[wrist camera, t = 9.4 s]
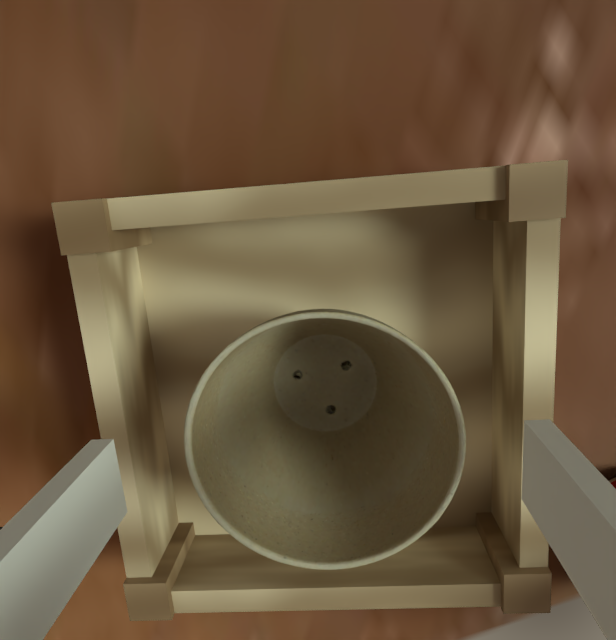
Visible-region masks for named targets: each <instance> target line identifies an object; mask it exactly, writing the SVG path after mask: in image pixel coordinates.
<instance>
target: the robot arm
mask: <svg viewBox="0 0 616 640" xmlns="http://www.w3.org/2000/svg"><path fill="white" fill-rule="evenodd" d="M522 500H523V502H524V504H525V505H526V507H527V509H528V510H529V512H530V514H531V515H532V517H533V519H534V520H535V522H536V524H537V525H538V527H539V528H540V530H541V532H542V533H543V535H544V537H545V538H546V540H547V542H548V543H549V545H550V547H551V548H552V550H553V552H554V553H555V555H556V556H557V558H558V560H559V561H560V563H561V565H562V566H563V568H564V570H565V571H566V573H567V575H568V576H569V578H570V580H571V581H572V583H573V584H574V586H575V588H576V589H577V591H578V593H579V594H580V596H581V598H582V599H583V601H584V602H585V604H586V606H587V608H588V609H589V611H590V612H591V614H592V616H593V617H594V619H595V621H596V622H597V624H598V626H599V627H600V629H601V631H602V632H603V634H604V635H605V637H606V639H607V640H616V489H615V488H614V487H613V485H612V484H611V483H610V482H609V481H608V480H607V479H606V478H605V477H604V476H603V475H602V474H601V473H600V472H599V471H598V470H597V469H596V468H595V467H594V465H593V464H592V463H591V462H590V461H589V460H588V459H587V458H586V457H585V456H584V455H583V454H582V453H581V452H580V451H579V450H578V449H577V448H576V446H575V445H574V444H573V443H572V442H571V441H570V440H569V439H568V438H567V437H566V436H565V435H564V434H563V433H562V432H561V431H560V430H559V429H558V428H557V426H556V425H555V424H554V423H553V422H552V421H551V420H550V419H545V420H524V438H523V469H522ZM126 513H127V507H126V501H125V496H124V491H123V486H122V481H121V475H120V470H119V465H118V460H117V455H116V449H115V444H114V439H98V440H90V441H89V442H88V443H87V444H86V445H85V446H84V447H83V448H82V449H81V450H80V451H79V452H78V453H77V454H76V455H75V456H74V457H73V458H72V459H71V460H70V461H69V462H68V463H67V464H66V465H65V466H64V467H63V468H62V469H61V470H60V471H59V472H58V473H57V474H56V475H55V476H54V477H53V478H52V479H51V480H50V481H49V482H48V483H47V484H46V485H45V486H44V487H43V488H42V489H41V490H40V491H39V492H38V493H37V494H36V495H35V496H34V497H33V498H32V499H31V500H30V501H29V502H28V503H27V504H26V505H25V506H24V507H23V508H22V509H21V510H20V511H19V512H18V513H17V514H16V515H15V516H14V517H13V518H12V519H11V520H10V521H9V522H8V523H7V524H6V525H5V526H4V527H0V640H43V639H44V637H45V636H46V634H47V633H48V631H49V630H50V628H51V627H52V625H53V623H54V622H55V620H56V619H57V617H58V616H59V614H60V613H61V611H62V610H63V608H64V607H65V605H66V604H67V602H68V601H69V599H70V598H71V596H72V595H73V593H74V592H75V590H76V589H77V587H78V586H79V584H80V583H81V581H82V580H83V578H84V577H85V575H86V574H87V572H88V571H89V569H90V568H91V566H92V565H93V563H94V562H95V560H96V559H97V557H98V556H99V554H100V553H101V551H102V550H103V548H104V547H105V545H106V544H107V542H108V541H109V539H110V538H111V536H112V535H113V533H114V532H115V530H116V529H117V527H118V526H119V524H120V522H121V521H122V519H123V518H124V516H125V515H126Z"/></svg>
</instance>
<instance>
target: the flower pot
mask: <svg viewBox="0 0 616 640" xmlns="http://www.w3.org/2000/svg"><path fill="white" fill-rule="evenodd" d="M345 361H347V363H346V364H345V365H342V363H343V362H345ZM295 375H298V376H299V377H300V379H298V378H295V377H294V376H295ZM331 406H334V407H335V411H333V410H332V409H331ZM184 450H185V458H186V464H187V467H188V471H189V474H190V478H191V480H192V483H193V485H194V487H195V490H196V492H197V494H198V496H199V498H200V499H201V501H202V503H203V504H204V506H205V507H206V509H207V510H208V511H209V513H210V514H211V516H212V517H213V518H214V519H215V520H216V521H217V523H218V524H219V525H220V526H221V527H222V528H223V529H224V530H225V531H227V532H228V533H229V534H230V535H231V536H232V537H234V538H235V539H236V540H237V541H239V542H240V543H242V544H243V545H244V546H246V547H248V548H249V549H251V550H253V551H255V552H257V553H258V554H261V555H263V556H265V557H267V558H269V559H272V560H274V561H277V562H280V563H284V564H288V565H292V566H296V567H302V568H307V569H318V570H339V569H346V568H354V567H358V566H362V565H367V564H370V563H373V562H376V561H379V560H382V559H384V558H387V557H389V556H391V555H393V554H395V553H397V552H399V551H400V550H402V549H404V548H406V547H407V546H409V545H410V544H412V543H413V542H415V541H416V540H417V539H419V538H420V537H421V536H422V535H423V534H425V533H426V532H427V531H428V530H429V529H430V528H431V527H432V526H433V525H434V524H435V523H436V522H437V521H438V519H439V518H440V517H441V515H442V514H443V513H444V511H445V509H446V508H447V506H448V505H449V503H450V501H451V500H452V498H453V496H454V494H455V491H456V489H457V487H458V484H459V481H460V478H461V475H462V471H463V467H464V461H465V451H466V432H465V424H464V419H463V415H462V411H461V407H460V404H459V402H458V399H457V396H456V394H455V392H454V390H453V388H452V386H451V384H450V382H449V381H448V379H447V377H446V376H445V374H444V373H443V371H442V370H441V369H440V367H439V366H438V365H437V364H436V362H435V361H434V360H433V359H432V358H431V357H430V356H429V355H428V354H427V353H426V352H425V351H424V350H423V349H422V348H421V347H420V346H418V345H417V344H416V343H415V342H414V341H412V340H411V339H410V338H408V337H407V336H405V335H404V334H402V333H401V332H399V331H397V330H396V329H394V328H393V327H391V326H389V325H387V324H385V323H383V322H381V321H378V320H376V319H374V318H371V317H369V316H366V315H362V314H359V313H355V312H350V311H345V310H338V309H309V310H302V311H296V312H292V313H288V314H284V315H281V316H278V317H275V318H272V319H270V320H268V321H266V322H264V323H262V324H259V325H257V326H255V327H254V328H252V329H250V330H249V331H247V332H246V333H244V334H242V335H241V336H240V337H238V338H237V339H235V340H234V341H233V342H232V343H230V344H229V345H228V346H227V347H226V348H225V349H224V350H223V351H222V352H221V353H220V354H219V355H218V356H217V357H216V358H215V359H214V360H213V361H212V362H211V364H210V365H209V366H208V367H207V369H206V370H205V372H204V373H203V375H202V377H201V378H200V380H199V382H198V384H197V385H196V387H195V390H194V392H193V395H192V397H191V400H190V403H189V406H188V410H187V414H186V418H185V425H184Z"/></svg>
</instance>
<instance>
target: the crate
mask: <svg viewBox="0 0 616 640" xmlns="http://www.w3.org/2000/svg"><path fill="white" fill-rule="evenodd" d="M567 169H568V160H560V161H548V162H536V163H524V164H512V165H506V166H495V167H483V168H471V169H459V170H447V171H435V172H423V173H411V174H399V175H387V176H375V177H363V178H351V179H339V180H327V181H315V182H303V183H291V184H279V185H267V186H255V187H243V188H231V189H219V190H206V191H194V192H182V193H170V194H158V195H146V196H134V197H122V198H110V199H91V200H79V201H67V202H55V203H51V204H52V209H53V214H54V220H55V225H56V230H57V236H58V241H59V246H60V252H61V255H67V259H68V264H69V269H70V275H71V280H72V286H73V291H74V296H75V302H76V307H77V312H78V318H79V323H80V329H81V334H82V339H83V345H84V350H85V356H86V361H87V366H88V372H89V377H90V382H91V388H92V393H93V399H94V404H95V409H96V415H97V420H98V426H99V431H100V436H101V439H114V444H115V449H116V455H117V460H118V465H119V470H120V475H121V481H122V486H123V491H124V496H125V501H126V507H127V513H126V515H125V516H124V518H123V519H122V521H121V522H120V524H119V526H118V527H117V528H118V533H119V539H120V544H121V549H122V555H123V560H124V566H125V571H126V576H127V578H126V580H125V582H124V584H123V586H124V592H125V597H126V602H127V608H128V613H129V618H130V621H147V620H172V618H173V616H174V613H201V612H251V611H300V610H350V609H399V608H449V607H498V606H501V609H502V611H503V614H513V613H550V607H551V581H552V573H551V571H550V570H549V568H548V550H549V543H548V542H547V540H546V538H545V537H544V535H543V533H542V532H541V530H540V528H539V527H538V525H537V524H536V522H535V520H534V519H533V517H532V515H531V514H530V512H529V510H528V509H527V507H526V505H525V504H524V502H523V500H522V469H523V438H524V420H545V419H550V420H551V421H552V422H553V413H554V386H555V358H556V331H557V304H558V276H559V249H560V222H561V218H566V195H567ZM309 309H338V310H345V311H350V312H355V313H359V314H362V315H366V316H369V317H371V318H374V319H376V320H378V321H381V322H383V323H385V324H387V325H389V326H391V327H393V328H394V329H396V330H397V331H399V332H401V333H402V334H404V335H405V336H407V337H408V338H410V339H411V340H412V341H414V342H415V343H416V344H417V345H418V346H420V347H421V348H422V349H423V350H424V351H425V352H426V353H427V354H428V355H429V356H430V357H431V358H432V359H433V360H434V361H435V362H436V364H437V365H438V366H439V367H440V369H441V370H442V371H443V373H444V374H445V376H446V377H447V379H448V381H449V382H450V384H451V386H452V388H453V390H454V392H455V394H456V396H457V399H458V402H459V404H460V407H461V411H462V415H463V419H464V424H465V432H466V451H465V461H464V467H463V471H462V475H461V478H460V481H459V484H458V487H457V489H456V491H455V494H454V496H453V498H452V500H451V501H450V503H449V505H448V506H447V508H446V509H445V511H444V513H443V514H442V515H441V517H440V518H439V519H438V521H437V522H436V523H435V524H434V525H433V526H432V527H431V528H430V529H429V530H428V531H427V532H426V533H425V534H423V535H422V536H421V537H420V538H419V539H417V540H416V541H415V542H413V543H412V544H410V545H409V546H407V547H406V548H404V549H402V550H400V551H399V552H397V553H395V554H393V555H391V556H389V557H387V558H384V559H382V560H379V561H376V562H373V563H370V564H367V565H362V566H358V567H354V568H346V569H339V570H318V569H307V568H302V567H296V566H292V565H288V564H284V563H280V562H277V561H274V560H272V559H269V558H267V557H265V556H263V555H261V554H258V553H257V552H255V551H253V550H251V549H249V548H248V547H246V546H244V545H243V544H242V543H240V542H239V541H237V540H236V539H235V538H234V537H232V536H231V535H230V534H229V533H228V532H227V531H225V530H224V529H223V528H222V527H221V526H220V525H219V524H218V523H217V521H216V520H215V519H214V518H213V517H212V516H211V514H210V513H209V511H208V510H207V509H206V507H205V506H204V504H203V503H202V501H201V499H200V498H199V496H198V494H197V492H196V490H195V487H194V485H193V483H192V480H191V478H190V474H189V471H188V467H187V464H186V458H185V450H184V425H185V418H186V414H187V410H188V406H189V403H190V400H191V397H192V395H193V392H194V390H195V387H196V385H197V384H198V382H199V380H200V378H201V377H202V375H203V373H204V372H205V370H206V369H207V367H208V366H209V365H210V364H211V362H212V361H213V360H214V359H215V358H216V357H217V356H218V355H219V354H220V353H221V352H222V351H223V350H224V349H225V348H226V347H227V346H228V345H229V344H230V343H232V342H233V341H234V340H235V339H237V338H238V337H240V336H241V335H242V334H244V333H246V332H247V331H249V330H250V329H252V328H254V327H255V326H257V325H259V324H262V323H264V322H266V321H268V320H270V319H272V318H275V317H278V316H281V315H284V314H288V313H292V312H296V311H302V310H309ZM346 363H347V361H345V362H343V363H342V365H345V364H346ZM294 377H295V378H298V379H300V377H299V376H298V375H295V376H294ZM331 409H332V410H333V411H335V407H334V406H331Z"/></svg>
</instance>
